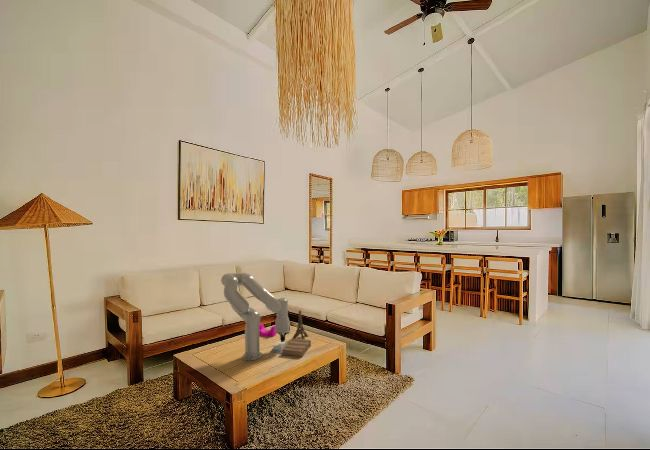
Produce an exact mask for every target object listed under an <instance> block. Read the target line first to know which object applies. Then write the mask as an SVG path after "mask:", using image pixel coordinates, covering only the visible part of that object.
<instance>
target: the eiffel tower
mask: <svg viewBox="0 0 650 450" xmlns="http://www.w3.org/2000/svg"><path fill="white" fill-rule="evenodd" d="M295 331H296V332H295V333H294V334H293V336H292V338H291V340H292V339H293V338H295V339H297V336H300V339H305V340H306V337H307V338H308V337H309V334H308V333H307V332H306V331H305V329H304V324H303V318H302V310H298V323H297V328H296V330H295Z"/></svg>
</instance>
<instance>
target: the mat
mask: <svg viewBox="0 0 650 450" xmlns="http://www.w3.org/2000/svg"><path fill="white" fill-rule="evenodd" d="M287 344H288V343H286V345H287ZM269 353H273V354H282V355H283V349H282V350H281V351H280V350H273V348H272V349H271V350H270V351H269Z"/></svg>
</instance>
